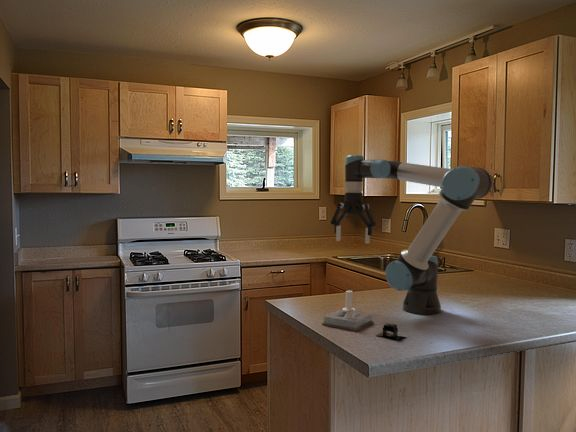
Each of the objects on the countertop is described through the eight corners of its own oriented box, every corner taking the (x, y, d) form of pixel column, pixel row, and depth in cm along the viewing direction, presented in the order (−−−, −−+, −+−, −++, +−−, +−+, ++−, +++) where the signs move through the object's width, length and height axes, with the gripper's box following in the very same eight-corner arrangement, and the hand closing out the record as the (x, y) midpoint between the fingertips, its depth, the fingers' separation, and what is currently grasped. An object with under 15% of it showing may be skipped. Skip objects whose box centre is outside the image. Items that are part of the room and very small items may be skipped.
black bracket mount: (368, 337, 169) (368, 324, 169) (378, 332, 175) (378, 319, 174) (403, 344, 162) (403, 330, 161) (411, 339, 167) (412, 325, 167)
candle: (352, 319, 186) (353, 287, 186) (358, 323, 181) (358, 290, 180) (339, 320, 185) (339, 288, 184) (344, 324, 180) (345, 291, 179)
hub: (373, 322, 185) (373, 314, 185) (357, 331, 173) (357, 322, 173) (339, 316, 193) (339, 308, 192) (322, 324, 181) (322, 316, 181)
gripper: (385, 192, 206) (383, 243, 208) (331, 191, 220) (330, 239, 221) (378, 192, 200) (376, 245, 201) (323, 191, 214) (322, 240, 215)
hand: (352, 242), depth 211 cm, fingers open, 13 cm apart
